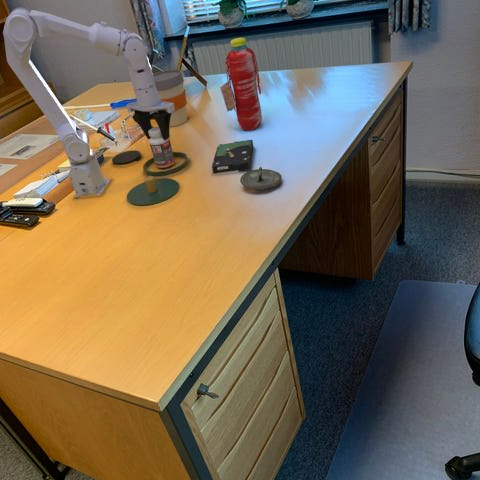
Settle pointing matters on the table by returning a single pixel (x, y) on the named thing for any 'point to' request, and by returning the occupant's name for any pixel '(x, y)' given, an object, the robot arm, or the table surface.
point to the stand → (126, 157)
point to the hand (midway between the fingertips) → (158, 138)
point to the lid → (261, 179)
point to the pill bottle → (160, 148)
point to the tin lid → (152, 191)
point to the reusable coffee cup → (172, 93)
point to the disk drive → (233, 157)
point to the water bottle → (242, 85)
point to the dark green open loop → (167, 172)
